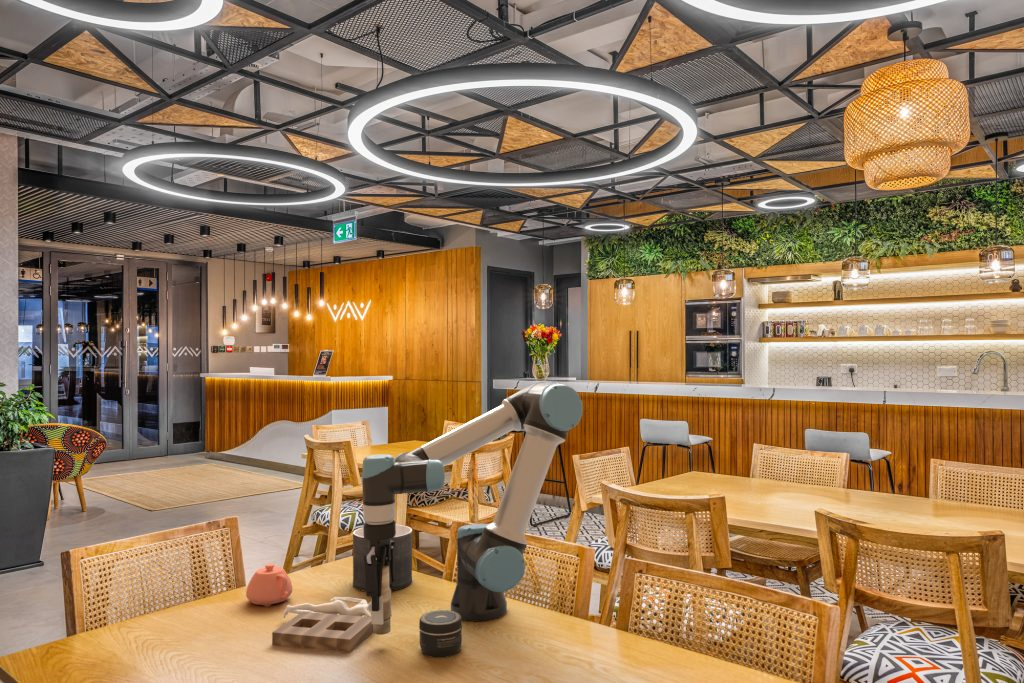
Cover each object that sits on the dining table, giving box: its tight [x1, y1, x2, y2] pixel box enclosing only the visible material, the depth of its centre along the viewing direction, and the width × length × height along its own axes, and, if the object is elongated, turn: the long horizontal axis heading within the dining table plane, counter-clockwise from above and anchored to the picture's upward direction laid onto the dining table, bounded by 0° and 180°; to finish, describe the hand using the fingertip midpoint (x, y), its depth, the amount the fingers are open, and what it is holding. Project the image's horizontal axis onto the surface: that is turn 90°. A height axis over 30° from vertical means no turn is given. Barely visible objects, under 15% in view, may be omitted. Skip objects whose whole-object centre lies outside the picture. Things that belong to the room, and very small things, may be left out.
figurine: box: [283, 596, 371, 619], centre depth 181 cm, size 8×6×25 cm
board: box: [271, 612, 373, 653], centre depth 169 cm, size 20×14×3 cm
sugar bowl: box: [245, 563, 293, 607], centre depth 195 cm, size 12×14×10 cm
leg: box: [372, 566, 392, 636], centre depth 165 cm, size 4×4×15 cm
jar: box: [418, 609, 463, 659], centre depth 162 cm, size 10×10×8 cm
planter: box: [352, 524, 413, 592], centre depth 211 cm, size 18×18×16 cm
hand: (381, 619), depth 164 cm, fingers closed on leg, 4 cm apart
